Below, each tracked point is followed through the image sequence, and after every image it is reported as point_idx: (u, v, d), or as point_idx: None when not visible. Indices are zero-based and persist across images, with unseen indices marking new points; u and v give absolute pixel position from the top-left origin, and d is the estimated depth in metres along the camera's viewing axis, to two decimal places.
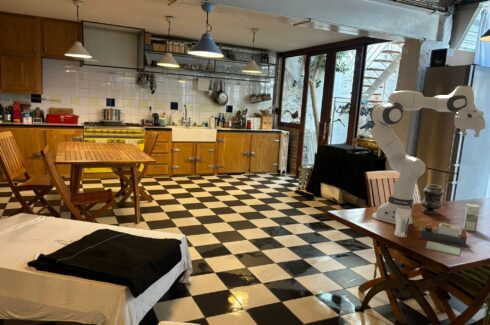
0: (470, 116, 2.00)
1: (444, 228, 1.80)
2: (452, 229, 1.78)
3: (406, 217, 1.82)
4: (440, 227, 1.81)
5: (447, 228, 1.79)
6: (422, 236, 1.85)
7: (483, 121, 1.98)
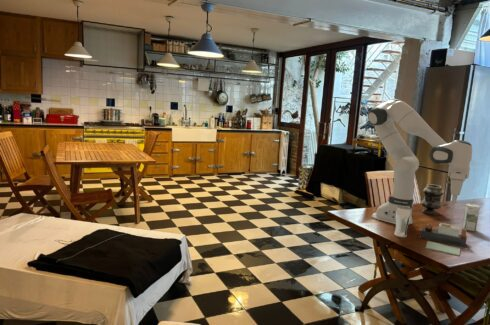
0: None
1: (444, 228, 1.80)
2: (452, 229, 1.78)
3: (406, 217, 1.82)
4: (440, 227, 1.81)
5: (447, 228, 1.79)
6: (422, 236, 1.85)
7: (459, 186, 1.69)
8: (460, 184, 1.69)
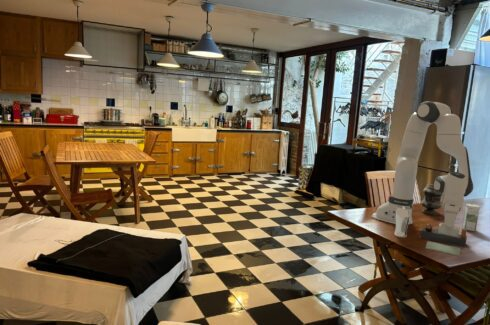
0: (444, 207, 1.76)
1: (444, 228, 1.80)
2: (452, 229, 1.78)
3: (406, 217, 1.82)
4: (440, 227, 1.81)
5: None
6: (422, 236, 1.85)
7: (453, 219, 1.71)
8: (454, 217, 1.71)
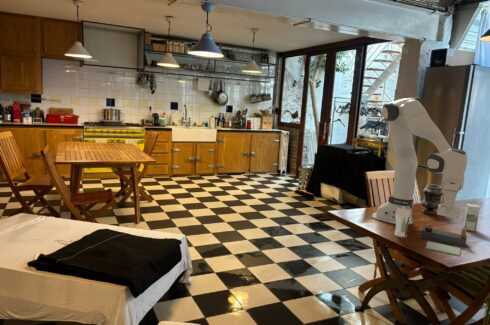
0: None
1: (444, 209, 1.68)
2: (452, 210, 1.66)
3: (406, 217, 1.82)
4: (439, 208, 1.69)
5: None
6: (422, 236, 1.85)
7: (452, 198, 1.59)
8: (454, 196, 1.59)
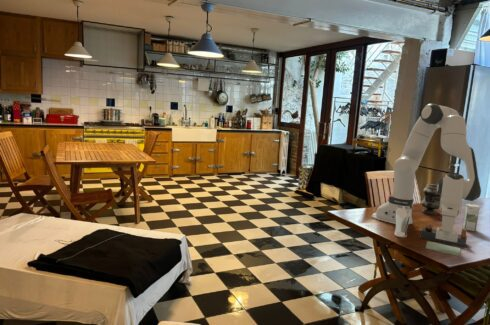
0: (441, 211, 1.65)
1: (442, 233, 1.69)
2: (450, 234, 1.68)
3: (406, 217, 1.82)
4: (438, 232, 1.70)
5: None
6: (422, 236, 1.85)
7: (451, 223, 1.61)
8: (452, 221, 1.60)
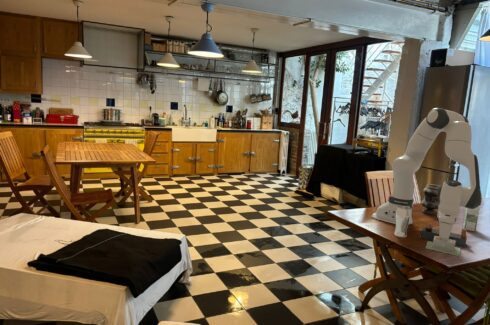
0: (438, 218, 1.66)
1: (439, 242, 1.70)
2: (447, 243, 1.68)
3: (406, 217, 1.82)
4: (435, 240, 1.71)
5: None
6: (422, 236, 1.85)
7: (448, 230, 1.61)
8: (449, 228, 1.61)
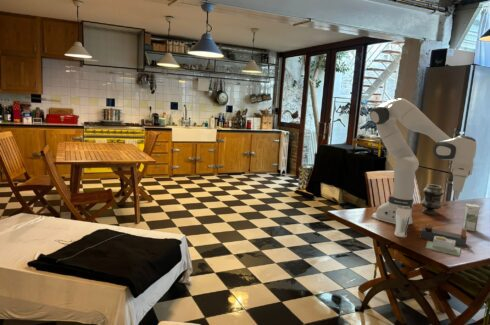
0: (452, 171, 1.69)
1: (439, 242, 1.70)
2: (447, 243, 1.68)
3: (406, 217, 1.82)
4: (435, 240, 1.71)
5: (442, 242, 1.70)
6: (422, 236, 1.85)
7: (461, 182, 1.65)
8: (463, 180, 1.65)
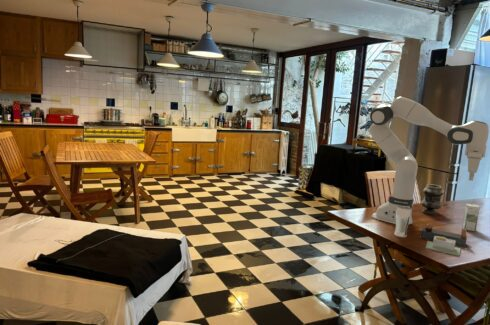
0: (467, 154, 1.81)
1: (439, 242, 1.70)
2: (447, 243, 1.68)
3: (406, 217, 1.82)
4: (435, 240, 1.71)
5: (442, 242, 1.70)
6: (422, 236, 1.85)
7: (476, 164, 1.76)
8: (477, 162, 1.76)
